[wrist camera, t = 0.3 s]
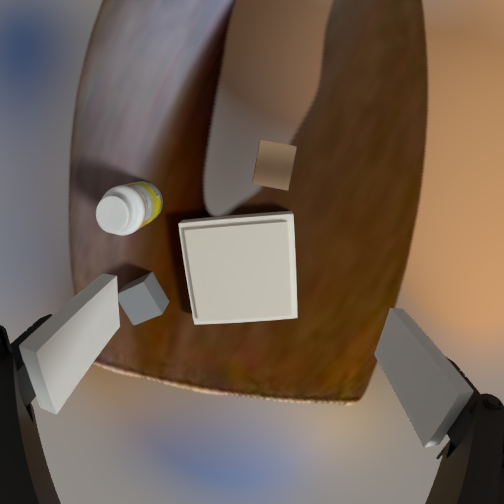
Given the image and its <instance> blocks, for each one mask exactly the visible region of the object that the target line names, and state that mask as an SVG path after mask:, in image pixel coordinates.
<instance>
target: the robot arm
mask: <svg viewBox="0 0 504 504" xmlns="http://www.w3.org/2000/svg"><path fill="white" fill-rule="evenodd" d="M119 327H120V322H119V309H118V291H117V276H116V275H110V274H104V273H103V274H102V275H100V276H99V277H98V278H97V279H95V280H94V281H93V282H92V283H90V284H89V285H88V286H87V287H85V288H84V289H83V290H82V291H81V292H79V293H78V294H77V295H76V296H75V297H73V298H72V299H71V300H70V301H69V302H68V303H66V304H65V305H64V306H63V307H62V308H60V309H59V310H58V311H57V312H56V313H55V314H54V315H51V314H49V315H47V316H44V317H42V318H40V319H39V320H38V321H36V322H35V323H34V324H33V326H31V327H29V328H28V329H27V331H25V332H24V333H23V334H21V335H20V336H19V337H18V338H17V339H16V340H15V341H14V342H13V343H11V344H10V342H9V339H8V335H7V332H6V329H5V328H4V327H3V326H1V325H0V504H61V503H60V501H59V498H58V495H57V493H56V490H55V487H54V484H53V482H52V479H51V475H50V472H49V469H48V466H47V463H46V459H45V456H44V452H43V449H42V445H41V441H40V437H39V433H38V428H37V424H36V419H35V414H34V410H33V407H32V404H31V402H32V400H33V399H34V398H35V396H36V398H37V400H38V403H39V406H40V408H42V409H45V410H47V411H49V412H52V413H54V414H57V413H58V412H59V410H60V409H61V407H62V406H63V405H64V403H65V402H66V400H67V399H68V397H69V396H70V394H71V393H72V391H73V390H74V388H75V387H76V385H77V384H78V383H79V381H80V380H81V378H82V377H83V376H84V374H85V373H86V371H87V370H88V369H89V367H90V366H91V364H92V363H93V362H94V360H95V359H96V358H97V356H98V355H99V353H100V352H101V351H102V349H103V348H104V347H105V345H106V344H107V343H108V341H109V340H110V339H111V337H112V336H113V335H114V333H115V332H116V331H117V329H118V328H119ZM374 355H375V357H376V359H377V360H378V362H379V364H380V366H381V367H382V369H383V371H384V373H385V374H386V376H387V378H388V380H389V382H390V384H391V385H392V387H393V389H394V391H395V392H396V394H397V397H398V398H399V400H400V402H401V404H402V406H403V408H404V410H405V412H406V413H407V415H408V417H409V419H410V421H411V423H412V425H413V427H414V429H415V431H416V433H417V435H418V437H419V439H420V440H421V443H422V445H423V446H424V448H425V447H430V446H434V445H439V444H440V442H441V441H442V440H443V438H444V437H445V435H446V434H448V436H449V438H450V440H449V442H448V443H447V444H446V446H445V447H444V448H443V450H442V451H441V452H440V454H439V455H438V456H437V459H439V458H440V456H442V455H443V457H442V460H441V463H440V466H439V469H438V472H437V475H436V478H435V480H434V483H433V486H432V488H431V491H430V493H429V496H428V498H427V501H426V503H425V504H504V406H503V404H502V403H501V401H500V400H499V399H498V398H497V397H495V396H493V395H491V394H480V393H479V392H478V390H477V389H476V388H475V387H474V386H473V384H472V383H471V382H470V381H469V379H468V378H467V377H465V375H464V373H463V372H462V371H460V369H459V368H458V366H457V365H456V364H455V363H454V362H453V361H451V360H450V359H448V358H447V357H445V356H444V355H443V354H442V352H441V351H440V350H439V349H438V347H437V346H436V345H435V344H434V343H433V342H432V341H431V339H430V338H429V337H428V336H427V335H426V334H425V333H424V331H422V329H421V328H420V327H419V326H418V325H417V324H416V323H415V321H413V319H412V318H411V317H410V316H409V315H408V314H407V313H406V312H405V311H404V309H399V308H390V310H389V313H388V316H387V319H386V322H385V325H384V328H383V331H382V334H381V337H380V340H379V343H378V346H377V348H376V351H375V354H374Z"/></svg>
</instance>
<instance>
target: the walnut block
mask: <svg viewBox="0 0 504 504" xmlns="http://www.w3.org/2000/svg"><path fill="white" fill-rule="evenodd" d="M295 152H296V146H291V145H286V144H281V143H276V142H271V141H266V140H260V144H259V149H258V154H257V159H256V165H255V170H254V176H253V181H252V184H256V185H261V186H267V187H272V188H277V189H282V190H287V191H288V188H289V183H290V178H291V173H292V168H293V163H294V158H295Z"/></svg>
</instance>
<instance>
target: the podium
mask: <svg viewBox="0 0 504 504" xmlns="http://www.w3.org/2000/svg"><path fill="white" fill-rule="evenodd" d="M178 225H179V232H180V239H181V246H182V253H183V260H184V266H185V273H186V279H187V285H188V291H189V297H190V303H191V308H192V314H193V319H194V324H218V323H237V322H252V321H266V320H279V319H291V318H297V286H296V259H295V237H294V218H293V213H292V212H291V211H282V212H268V213H255V214H243V215H231V216H220V217H209V218H198V219H188V220H182V221H181V222H180V223H178Z"/></svg>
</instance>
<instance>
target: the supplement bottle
mask: <svg viewBox="0 0 504 504" xmlns="http://www.w3.org/2000/svg"><path fill="white" fill-rule="evenodd" d="M161 208H162V196H161V193H160V191H159V190H158V188H157V187H156V186H155V185H153V184H151V183H149V182H145V181H141V182H135V183H130V184H125V185H120V186H116V187H113V188H111V189H110V190H108V191H107V192H106V193H105V194H104V196H103V198H102V200H101V201H100V202H99V204H98V206H97V209H96V218H97V222H98V224H99V225H100V227H101V228H102V229H103V230H104V231H106V232H109V233H114V234H117V235H128V234H131V233H133V232H135V231H136V230H138V229H139V228H141V227H143V226H144V225H146V224H147V223H149V222H151V221H152V220H154V219H155V218H156V217H157V216H158V215H159V213H160V211H161Z"/></svg>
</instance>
